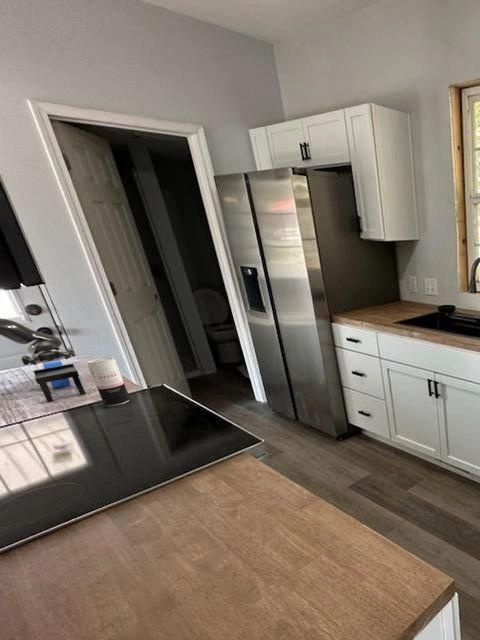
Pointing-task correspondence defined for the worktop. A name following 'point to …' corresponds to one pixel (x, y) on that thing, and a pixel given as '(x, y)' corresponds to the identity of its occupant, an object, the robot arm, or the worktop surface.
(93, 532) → the worktop surface
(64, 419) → the worktop surface
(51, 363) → the tape roll
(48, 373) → the tape rack
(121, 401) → the beverage can
